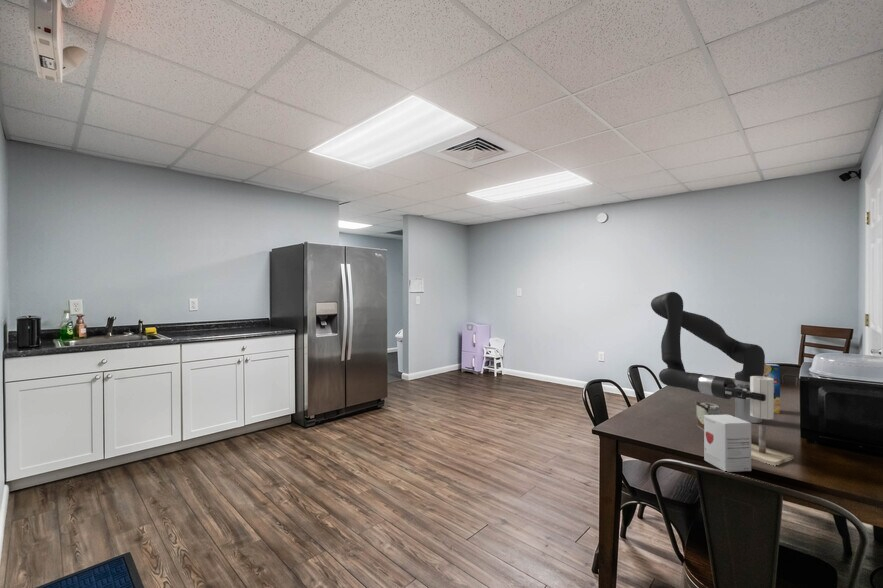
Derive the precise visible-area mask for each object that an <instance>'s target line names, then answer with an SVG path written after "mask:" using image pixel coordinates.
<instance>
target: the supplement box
mask: <svg viewBox="0 0 883 588" xmlns="http://www.w3.org/2000/svg"><path fill="white" fill-rule="evenodd" d="M703 432H704V433H703V437H704V438H703V440H704V442H703V445H704V446H703V449H704V450H703V451H704V452H703V455H704V456H703V457H704V458H703V460H704V461H705V462H707V463H708V464H710V465H712V466H714V467H715V468H717V469H720V470H721V471H723V472H725V471H727V472H726V473H730V472H731V473H733V472H752V459H751V443H752V423H750V422H747V421H744V420H742V419H739V418H736V417H735V415H734V416H733V415H731V414H718V415H704V430H703Z"/></svg>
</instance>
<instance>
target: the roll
mask: <svg viewBox="0 0 883 588" xmlns="http://www.w3.org/2000/svg"><path fill="white" fill-rule="evenodd" d="M750 391H751V393H752V392H755V393H760V394H765V395H766V400H765V401H760V400H755V399H752V398H751V399H750V415H751V416H753V417H756V418H761V419H762V420H774V417H775V416H774V415H775V413H774V379H772V378H768V377H761V376H751V377H750Z"/></svg>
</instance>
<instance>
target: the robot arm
mask: <svg viewBox="0 0 883 588" xmlns="http://www.w3.org/2000/svg"><path fill="white" fill-rule="evenodd" d="M650 307H651V310H652V311H653V312H654V313H655V314H656V315H658V316H659V317H661V318H663V319H665V320H667V323H666V325H665V326H666V327H665V329H664V332H663V334H662V337H661V338H662V339H661V343H660V344H661V345H660V349H661V352H660V353H661V360H662V362H663V363H665V364H666V366H667V368H663V369H661V370H660V372H659V373H658V378H659V379H658V380H659V381H660V382H661V384H663V385H665V386H668V387H672V388H680V389H686V390H689V391H692V392H695V393H701V394H704V395H707V396H712V397H715V398H720V399H725V400H730V399H732V398H734V417H736V418H739V419H742V420H744V421H747V422H750V423H751V424H753V423H754V424H760V423H762V422H763V419H761V418H756V417H753V416H751V415H750V399H751V398H752V399H755V400H760V401H765V400H766V395H765V394H760V393H755V392H752V393H751V391H750V377H751V376H761V377H763V375H764V365H765V363H766V361H765V360H766V355H765V351H764V349H763V348H762V346H760V345H758V344H755V343H748V342H741V341H739V340H737V339H735V338H733V337H731V336H729V335H728V334H727V332H726V331H725V329H724V328H723V327H722V326H721V325H720V324H719V323H717V322H716V321H714V320H712V319H711V318H709V317H708V316H705V315H701V314H698V313H693V312H689V311H686V310H684V301H683V298H682V296H681V295H680V294H679V293H678V292H675V291H669V292H666V293H662V294H660V295H657V296H655V297H654V298H653V299H652V300H651V302H650ZM682 328H683V329H684V330H686V331H688V332H689V333H691V334H693V335H694V336H695V337H697V338H699V339H700V340H702V341H703V342H706V343H707V344H709V345H711V346H712V347H715V348H716V349H718V350H719V351H721V352H722V353H724V354H725V355H726V356H727V357H729V358H730V359H732V360H733V361H734V362H736V363H738V364H742V369H741V370H740V371H737V372H735V373H734V380H733V379H732V378H730V377H724V376H719V375H712V374H704V373H697V372H689V371H688V372H687V371H686V369H685V366H684V362H683V360H682V351H681V350H682V349H681V347H682V346H681V332H682V331H681V330H682ZM774 399H776V393H775V392H774Z"/></svg>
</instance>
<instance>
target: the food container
mask: <svg viewBox="0 0 883 588" xmlns="http://www.w3.org/2000/svg"><path fill="white" fill-rule="evenodd" d="M694 406H695V411H696V426H697V427H698V428H699V429H701V430H702V431H704V415H720V413H721V409H720V407H719V405H717V404H716V403H712V402H706V401H701V400H695V405H694Z"/></svg>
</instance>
